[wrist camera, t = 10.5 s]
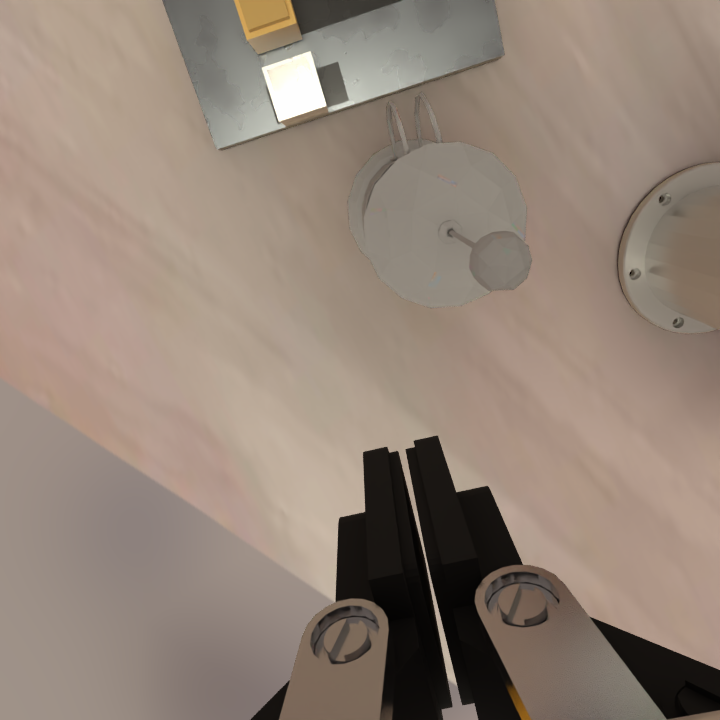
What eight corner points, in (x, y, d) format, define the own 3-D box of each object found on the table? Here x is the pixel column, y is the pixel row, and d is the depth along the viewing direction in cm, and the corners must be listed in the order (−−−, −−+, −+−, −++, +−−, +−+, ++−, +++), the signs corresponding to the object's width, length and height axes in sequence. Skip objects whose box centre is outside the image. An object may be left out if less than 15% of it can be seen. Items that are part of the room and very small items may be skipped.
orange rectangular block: (286, -14, 33) (277, -42, 29) (302, 39, 34) (295, 20, 30) (241, 2, 34) (225, -23, 29) (258, 54, 35) (245, 37, 30)
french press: (366, 291, 42) (388, 447, 18) (324, 134, 38) (281, 69, 14) (491, 257, 41) (684, 373, 17) (461, 94, 37) (653, -43, 14)
